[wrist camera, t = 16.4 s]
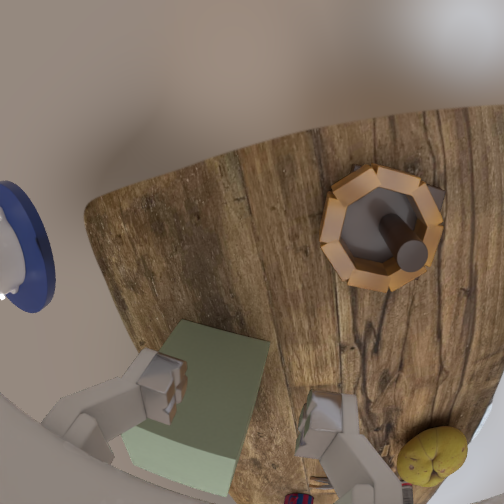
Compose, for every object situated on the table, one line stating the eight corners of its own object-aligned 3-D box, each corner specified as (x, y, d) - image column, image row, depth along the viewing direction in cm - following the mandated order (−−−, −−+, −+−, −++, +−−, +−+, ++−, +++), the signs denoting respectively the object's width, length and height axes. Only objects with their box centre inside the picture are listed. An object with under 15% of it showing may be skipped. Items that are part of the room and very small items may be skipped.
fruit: (451, 440, 35) (460, 484, 26) (391, 454, 39) (394, 501, 30) (465, 405, 32) (480, 454, 23) (396, 422, 35) (402, 476, 26)
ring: (311, 263, 27) (310, 277, 25) (334, 153, 23) (336, 155, 21) (410, 285, 26) (417, 299, 23) (441, 183, 22) (454, 189, 19)
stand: (331, 255, 28) (334, 300, 20) (352, 163, 25) (368, 175, 17) (414, 273, 27) (440, 320, 19) (440, 188, 23) (482, 210, 16)
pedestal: (182, 377, 39) (133, 464, 25) (181, 318, 35) (113, 415, 21) (256, 398, 38) (226, 497, 23) (270, 341, 34) (236, 460, 19)
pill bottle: (388, 483, 43) (388, 520, 34) (411, 478, 42) (414, 514, 33) (389, 490, 45) (389, 525, 36) (411, 485, 43) (413, 519, 34)
